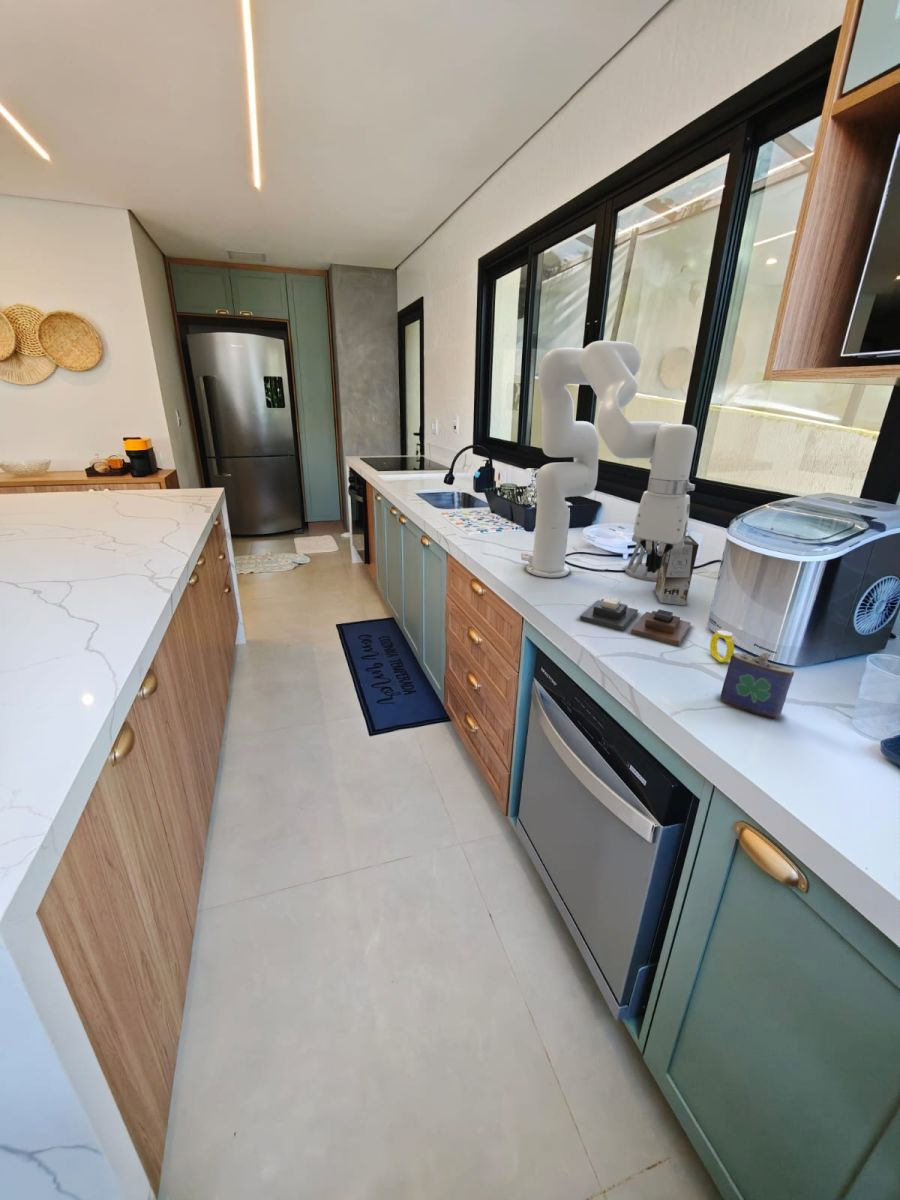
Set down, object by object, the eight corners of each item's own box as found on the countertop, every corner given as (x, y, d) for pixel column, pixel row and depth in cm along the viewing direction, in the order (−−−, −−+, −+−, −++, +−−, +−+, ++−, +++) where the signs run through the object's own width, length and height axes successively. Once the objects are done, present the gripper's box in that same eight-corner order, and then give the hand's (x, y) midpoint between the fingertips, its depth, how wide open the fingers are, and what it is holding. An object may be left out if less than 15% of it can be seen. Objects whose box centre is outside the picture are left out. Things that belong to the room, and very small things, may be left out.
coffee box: (686, 605, 128) (699, 544, 122) (659, 603, 129) (671, 542, 123) (678, 592, 137) (691, 535, 130) (653, 590, 138) (664, 533, 131)
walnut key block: (631, 633, 113) (633, 621, 111) (645, 616, 122) (647, 604, 121) (678, 646, 107) (681, 633, 106) (689, 626, 117) (692, 615, 115)
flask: (780, 714, 85) (798, 658, 81) (778, 722, 83) (796, 665, 79) (721, 694, 90) (735, 641, 86) (717, 702, 88) (731, 647, 84)
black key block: (579, 620, 119) (581, 608, 118) (597, 604, 128) (598, 593, 127) (622, 631, 114) (624, 619, 112) (637, 614, 123) (639, 602, 122)
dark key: (653, 620, 113) (655, 613, 113) (657, 616, 116) (658, 609, 115) (668, 624, 112) (670, 617, 111) (672, 619, 114) (673, 612, 113)
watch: (733, 666, 100) (741, 639, 98) (720, 666, 100) (727, 640, 97) (717, 652, 105) (723, 626, 103) (704, 652, 105) (710, 626, 103)
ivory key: (601, 607, 119) (602, 601, 119) (606, 603, 122) (607, 596, 121) (615, 611, 118) (616, 604, 117) (619, 606, 120) (620, 600, 120)
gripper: (709, 488, 103) (692, 573, 110) (636, 481, 111) (623, 560, 118) (702, 494, 98) (684, 582, 105) (625, 485, 106) (613, 568, 113)
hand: (652, 570), depth 111 cm, fingers closed
